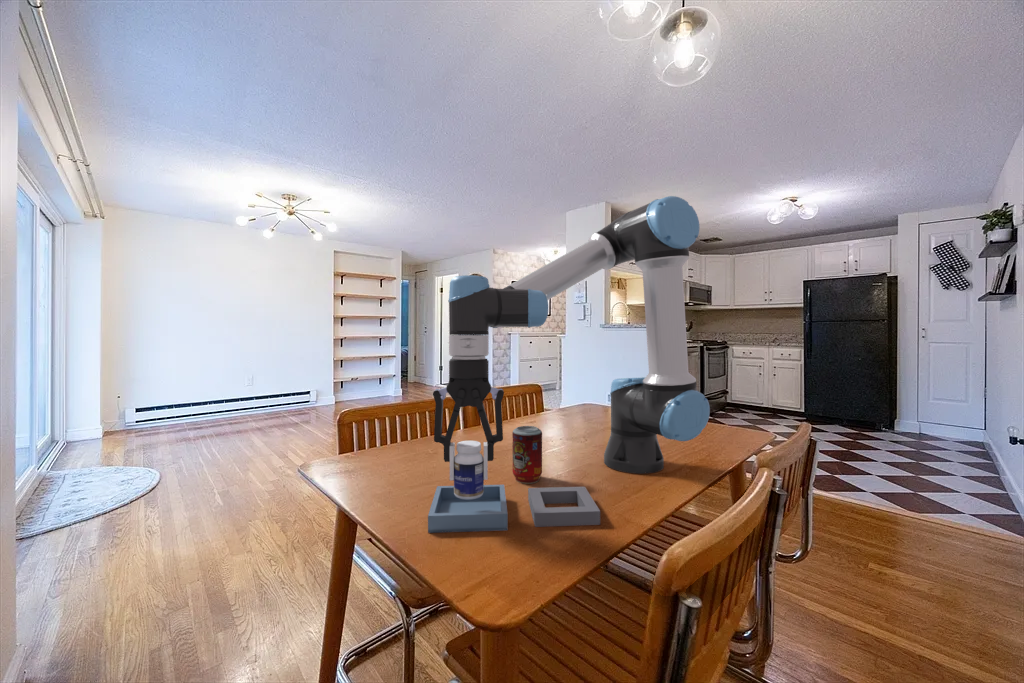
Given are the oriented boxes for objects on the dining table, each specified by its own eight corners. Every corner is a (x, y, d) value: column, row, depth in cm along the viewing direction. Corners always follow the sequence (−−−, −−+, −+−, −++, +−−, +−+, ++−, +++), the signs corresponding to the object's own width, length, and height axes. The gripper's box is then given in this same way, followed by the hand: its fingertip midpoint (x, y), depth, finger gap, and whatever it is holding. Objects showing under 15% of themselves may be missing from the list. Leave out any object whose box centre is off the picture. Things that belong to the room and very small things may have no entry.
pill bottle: (447, 497, 79) (447, 445, 79) (464, 487, 84) (464, 438, 84) (473, 502, 77) (473, 449, 76) (489, 492, 82) (489, 441, 82)
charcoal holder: (584, 498, 88) (584, 486, 88) (600, 524, 76) (600, 511, 76) (528, 499, 88) (528, 488, 87) (534, 526, 76) (534, 513, 76)
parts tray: (504, 498, 88) (504, 484, 88) (507, 530, 74) (507, 513, 74) (437, 500, 87) (437, 486, 87) (428, 532, 73) (427, 516, 73)
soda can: (506, 481, 98) (507, 429, 98) (521, 472, 104) (521, 423, 104) (533, 487, 95) (534, 433, 94) (546, 477, 101) (547, 426, 101)
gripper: (416, 359, 76) (416, 485, 76) (519, 358, 77) (518, 483, 77) (422, 356, 83) (422, 471, 84) (516, 356, 84) (515, 470, 85)
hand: (468, 477), depth 81 cm, fingers closed on pill bottle, 6 cm apart
